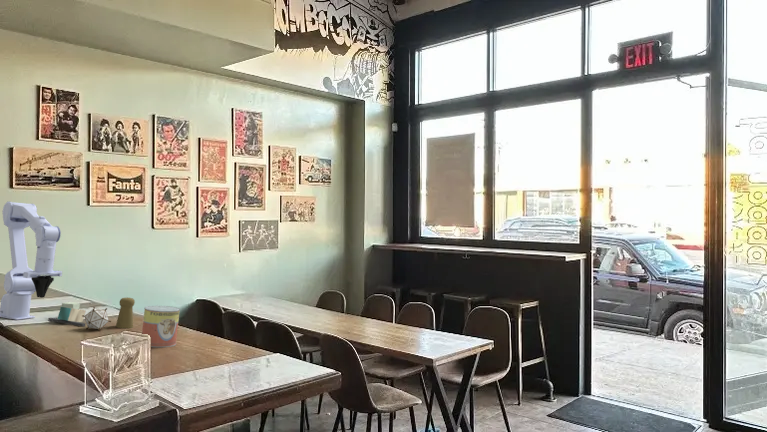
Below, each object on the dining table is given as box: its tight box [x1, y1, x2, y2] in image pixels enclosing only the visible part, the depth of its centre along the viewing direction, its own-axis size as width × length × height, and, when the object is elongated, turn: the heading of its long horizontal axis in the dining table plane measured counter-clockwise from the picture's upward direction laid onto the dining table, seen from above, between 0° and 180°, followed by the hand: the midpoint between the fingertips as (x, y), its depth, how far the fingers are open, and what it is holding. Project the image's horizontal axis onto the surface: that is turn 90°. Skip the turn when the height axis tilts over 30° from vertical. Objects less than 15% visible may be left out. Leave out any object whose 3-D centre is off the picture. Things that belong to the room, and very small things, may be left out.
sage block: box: [61, 301, 81, 310], centre depth 218 cm, size 4×4×6 cm
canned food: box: [141, 305, 181, 348], centre depth 190 cm, size 11×11×12 cm
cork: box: [115, 297, 136, 329], centre depth 212 cm, size 6×6×11 cm
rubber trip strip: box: [47, 317, 86, 327], centre depth 208 cm, size 16×1×1 cm, turn 74°
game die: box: [82, 306, 112, 332], centre depth 202 cm, size 9×8×10 cm
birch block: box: [56, 306, 86, 323], centre depth 210 cm, size 4×4×8 cm
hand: (40, 297), depth 201 cm, fingers closed
